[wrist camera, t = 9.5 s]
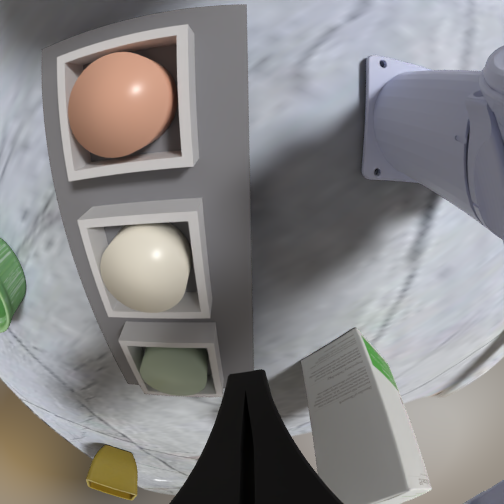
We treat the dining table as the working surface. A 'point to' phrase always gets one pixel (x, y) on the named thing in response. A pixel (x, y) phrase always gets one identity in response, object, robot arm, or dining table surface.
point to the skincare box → (361, 425)
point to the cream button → (147, 266)
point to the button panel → (166, 185)
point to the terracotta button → (121, 104)
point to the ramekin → (9, 285)
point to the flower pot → (113, 473)
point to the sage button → (175, 369)
